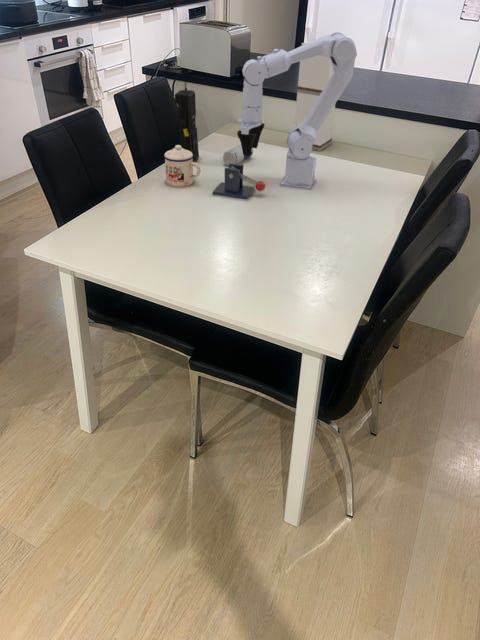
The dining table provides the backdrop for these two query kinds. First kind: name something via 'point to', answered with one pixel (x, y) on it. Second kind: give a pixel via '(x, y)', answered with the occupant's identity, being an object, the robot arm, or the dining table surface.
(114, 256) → the dining table surface
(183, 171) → the teacup with lid
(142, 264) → the dining table surface
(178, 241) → the dining table surface
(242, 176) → the lever
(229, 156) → the energy drink
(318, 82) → the tall banded cream box
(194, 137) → the portable radio
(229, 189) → the bracket
